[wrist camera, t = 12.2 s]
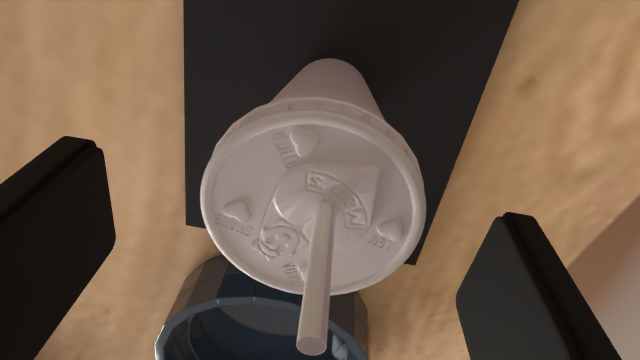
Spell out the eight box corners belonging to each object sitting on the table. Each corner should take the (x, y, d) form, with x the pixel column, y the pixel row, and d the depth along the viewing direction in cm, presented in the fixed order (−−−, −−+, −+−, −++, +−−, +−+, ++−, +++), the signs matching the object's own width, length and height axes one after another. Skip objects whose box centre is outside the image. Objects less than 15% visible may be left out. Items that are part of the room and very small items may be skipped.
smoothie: (424, 103, 19) (536, 380, 7) (324, 178, 22) (288, 473, 10) (334, -6, 17) (290, 136, 5) (235, 91, 20) (52, 335, 8)
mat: (189, -189, 15) (181, -195, 14) (556, -115, 15) (565, -118, 15) (190, 217, 25) (185, 225, 24) (413, 256, 25) (415, 265, 25)
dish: (177, 230, 26) (148, 278, 22) (389, 267, 26) (395, 321, 22) (180, 361, 33) (159, 414, 29) (347, 389, 33) (346, 444, 29)
